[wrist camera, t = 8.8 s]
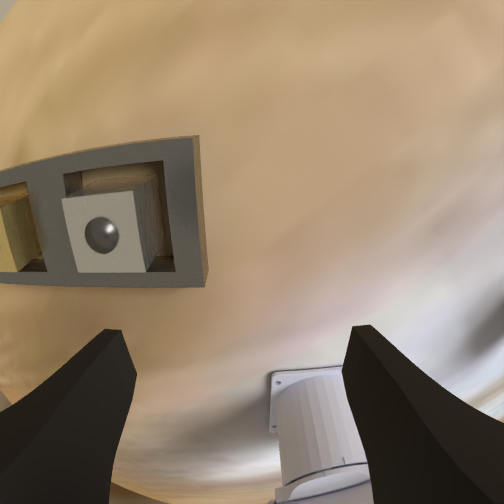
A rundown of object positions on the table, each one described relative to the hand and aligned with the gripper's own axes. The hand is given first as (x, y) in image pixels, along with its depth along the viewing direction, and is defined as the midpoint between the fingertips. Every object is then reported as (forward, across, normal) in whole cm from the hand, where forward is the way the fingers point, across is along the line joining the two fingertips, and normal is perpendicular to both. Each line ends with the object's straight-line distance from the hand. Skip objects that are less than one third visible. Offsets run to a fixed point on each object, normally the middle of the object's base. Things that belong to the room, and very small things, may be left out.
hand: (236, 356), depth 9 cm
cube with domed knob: (+10, +6, -2) cm, 12 cm away
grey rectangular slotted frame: (+9, +11, -2) cm, 15 cm away
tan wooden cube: (+10, +16, -2) cm, 18 cm away
